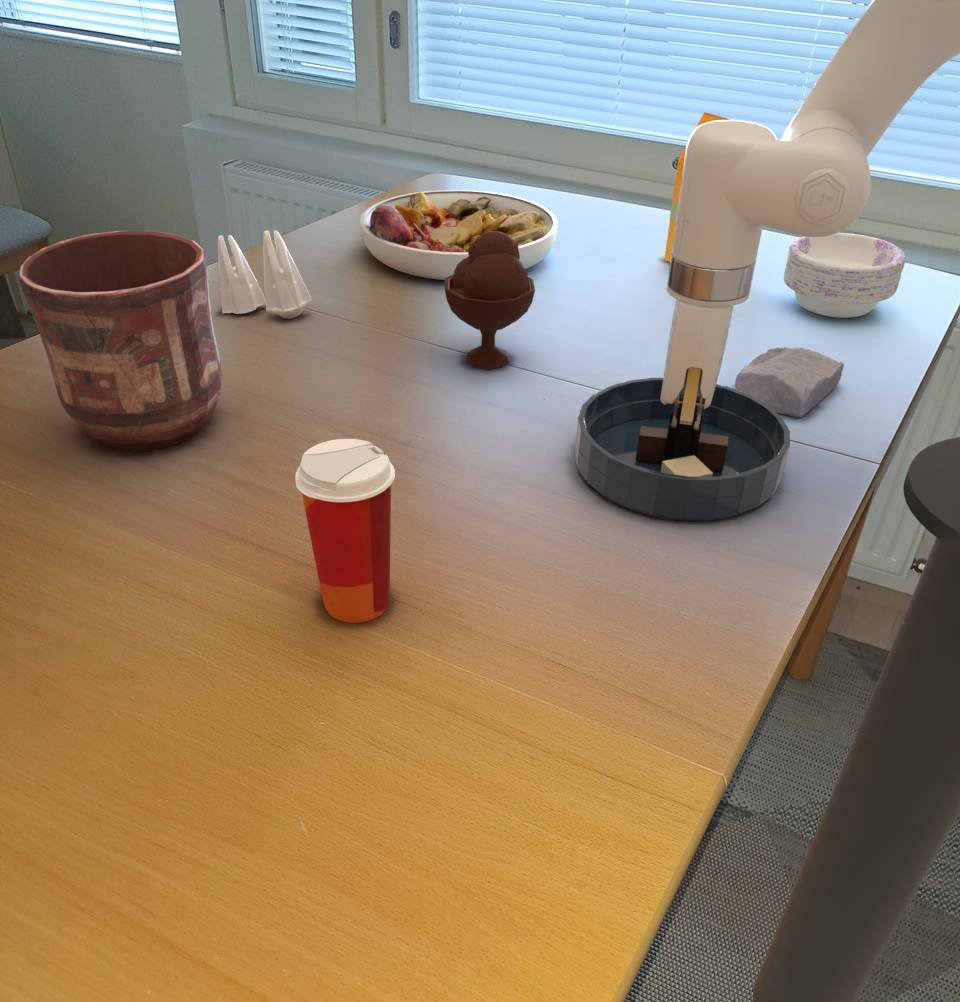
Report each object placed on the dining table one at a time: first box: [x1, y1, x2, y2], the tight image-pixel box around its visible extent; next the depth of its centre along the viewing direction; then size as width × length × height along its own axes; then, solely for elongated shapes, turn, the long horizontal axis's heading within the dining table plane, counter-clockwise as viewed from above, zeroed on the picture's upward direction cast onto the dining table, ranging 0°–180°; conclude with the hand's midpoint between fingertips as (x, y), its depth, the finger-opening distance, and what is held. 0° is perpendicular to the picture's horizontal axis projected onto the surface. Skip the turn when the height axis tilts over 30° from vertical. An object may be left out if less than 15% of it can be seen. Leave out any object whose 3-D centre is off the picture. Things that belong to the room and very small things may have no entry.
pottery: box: [17, 230, 223, 452], centre depth 98 cm, size 18×18×18 cm
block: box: [661, 455, 713, 477], centre depth 92 cm, size 4×4×4 cm
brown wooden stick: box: [636, 426, 729, 471], centre depth 98 cm, size 9×2×3 cm, turn 77°
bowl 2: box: [574, 377, 791, 522], centre depth 98 cm, size 21×21×5 cm
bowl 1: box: [359, 189, 559, 281], centre depth 144 cm, size 30×30×8 cm
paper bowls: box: [783, 232, 907, 319], centre depth 130 cm, size 15×15×8 cm
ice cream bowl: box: [444, 231, 536, 371], centre depth 113 cm, size 11×11×15 cm
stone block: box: [734, 346, 845, 419], centre depth 112 cm, size 12×5×10 cm
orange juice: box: [663, 111, 732, 263], centre depth 138 cm, size 8×9×20 cm
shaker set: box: [217, 229, 313, 319], centre depth 124 cm, size 12×4×11 cm, turn 75°
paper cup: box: [294, 438, 396, 624], centre depth 77 cm, size 8×8×14 cm
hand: (680, 452), depth 98 cm, fingers closed on brown wooden stick, 2 cm apart
